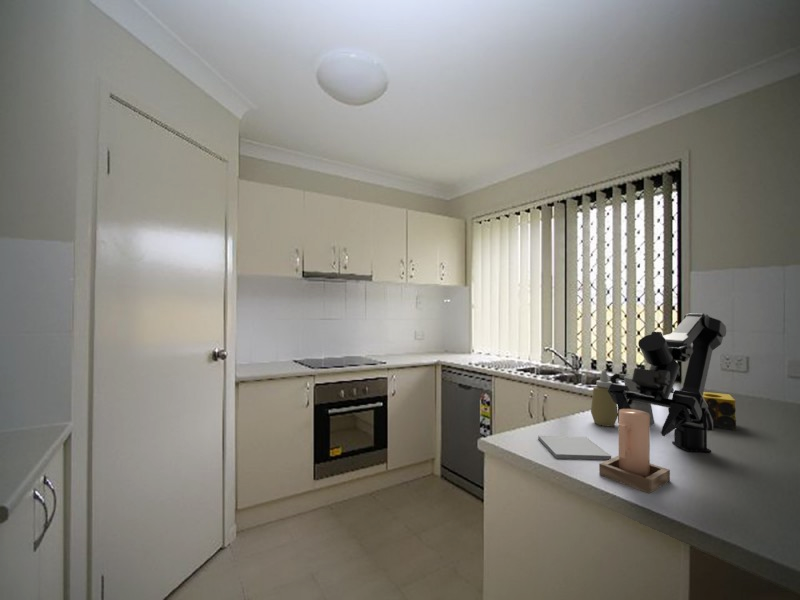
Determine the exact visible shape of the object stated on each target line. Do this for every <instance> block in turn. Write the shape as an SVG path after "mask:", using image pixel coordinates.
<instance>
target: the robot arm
mask: <svg viewBox="0 0 800 600" xmlns="http://www.w3.org/2000/svg"><path fill="white" fill-rule="evenodd" d="M726 334H727V326H726V325H725V324H724V322H723V321H722V320H720V319H717V318H715V317H710V315H709V314H706V313H704V312H703V313H696V312H695V313H694V312H689V313H686V314H684V317H683V319H682V321H681V322H680V323H679V324H678V325H677V327H676V328H675V329H674V330H672V332H671V333H667V334H663V333H662V332H661V331H652V332H651V334H647V335H645V336H643V337H641V339H639V340H638V344H637V345H638V347H639V349H640V351H641V353H642V355H643V357H644V360H645V361H646V363H647V364H649V365H650V367H649V369H646V368H639V367H636V368H634V370H633V372H632V373H633V374H632V375H633V378H632V381H633V382H635V383H637V385H636V388H637V390H640V393H637V392H631V391H630V390H629V388H628V386H627V385H625V384H620V383H617V384H615V383H612V384H610V385H609V387H608V389H607V391H608V392H609V394H610V396H611V398H612V399H613V401H614V402H615V403H616V404H617V411H618V417H617V423H618V424H619V410H620V409H631V407H630V405H631V404H632V402H633V400H635V401H640V402H645V403H649V404H651V406H652V405H653V406H657V407H663V408H668V415H667V416H666V418H665V421H664V423H663V426H662V428H661V431H660V435H661V436H663V437H665V436H667V435H668V434H669V433H671V432H672V431H674V432H673V433H674V440H673V441H671V444H673V445H675V446H677V447H679V448H680V449H682V450H684V451H686V452H692V453H693V452H696V453H712V449H710V448H708V442H707V439H708V438H707V434H708V433H707V432H708V431H710V432H713V431H714V428H713V419H712V417H711V415H710V412H709V410H708V405H707V403H706V401H705V399H704V397H703V392H705V387H706V383H707V382H706V381H707V377H708V373H709V368H710V363H711V359H712V355H713V351H714V350H716V349H717V348H718V347H719V346H721V345H722V343H723V340H724V338H725V337H726ZM691 344H692V345H691ZM678 362H683V363H685V362H688V364H687V367H686V372H685V376H684V381H683V384H682V388H680V389H679V390H678V389H674V388H673V386H674V384H675V382H676V379H677V377H680V375H681V373H680V369H681V368H680V365H679V363H678ZM671 394H672V398H669V397H670V395H671ZM702 423H703V424H702Z"/></svg>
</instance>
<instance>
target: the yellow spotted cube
mask: <svg viewBox="0 0 800 600" xmlns="http://www.w3.org/2000/svg"><path fill="white" fill-rule="evenodd" d="M703 397H704V399H705V401H706V403H707V405H708V410H709V412H710V415H711V417H712V419H713V429H714V428H715V429H721V430H726V431H727V430H728V431H737V420H736V419H737V418H736V410H737V409H736V399H734V397H732V395H731V394H728V393H718V392H709V391H708V392H707V391H704V392H703ZM702 424H703V423H702Z"/></svg>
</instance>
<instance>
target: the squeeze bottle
mask: <svg viewBox="0 0 800 600" xmlns="http://www.w3.org/2000/svg"><path fill="white" fill-rule="evenodd" d="M595 384H596V386H594V387H593V389H592V397H591V407H590V413H591V416H592V420H593V422H594V424H596V425H599V426H601V425H602V426H603V427H614V426H615V424H616V422H617V420H618V405H617V404H616V403H615V402H614V401H613V399H612V398H611V396H610V394H609V392H608V391H607V389H608V387H609V385H610V384H612V382H611V380H609V376H608V373H607V370H605V369H602V370H601V374H600V377H599V379H598V380H596V383H595Z"/></svg>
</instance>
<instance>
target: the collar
mask: <svg viewBox="0 0 800 600" xmlns="http://www.w3.org/2000/svg"><path fill="white" fill-rule="evenodd" d="M598 468H599V469H598V470H599V473H598V474H599V475H600V476H602V477H605V478H608V479H611V480H613V481H616V482H618V483H621V484H623V485H625V486H629V487H632V488H634V489H636V490H639V491H642V492H644V493H647V494H651V493H652V492H653V491H655V490H658V489H659V488H661V487H662V486H664V485H666V484H667V483H669V482H670V481H671V479H670V478H671V470H670V469H668V468H666V467H663V466H658V465H657V464H654V463H650V476H648V477H646V478H644V477H642V476H639V475H636V474H633V473H630V472H627V471H625V470H622V469H619V455H617V456H614V457H611V459H609V460H604V461H603V462H600V463H599V467H598ZM668 481H669V482H668ZM666 482H667V483H666ZM665 483H666V484H665ZM663 484H664V485H663ZM660 486H661V487H660ZM658 487H659V488H658Z"/></svg>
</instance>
